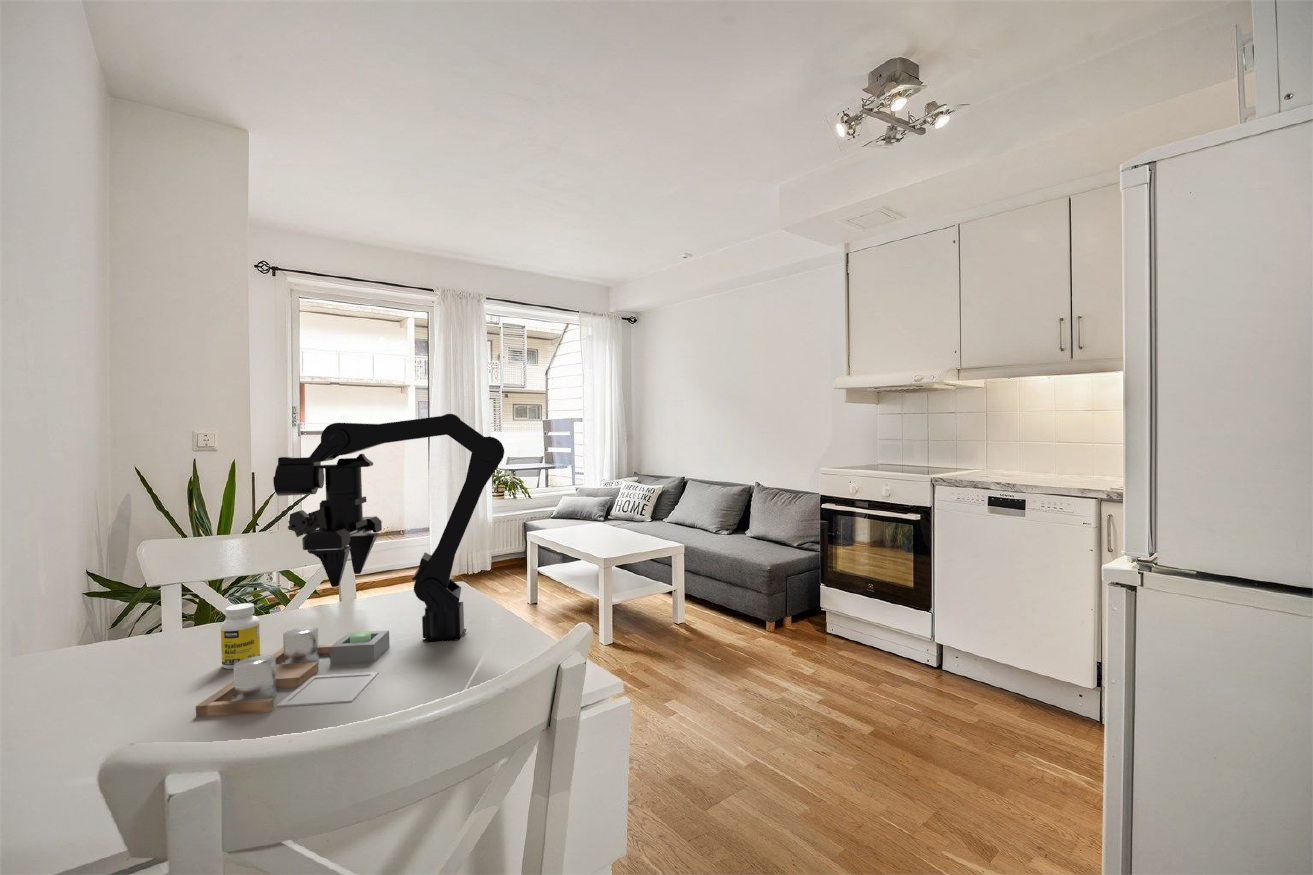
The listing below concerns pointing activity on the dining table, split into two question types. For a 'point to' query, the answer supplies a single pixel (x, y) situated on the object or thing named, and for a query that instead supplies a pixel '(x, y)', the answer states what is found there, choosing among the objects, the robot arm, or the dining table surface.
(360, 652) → the button housing
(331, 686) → the tray
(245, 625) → the supplement bottle
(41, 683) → the dining table surface
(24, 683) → the dining table surface
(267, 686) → the seated steel billet
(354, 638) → the button
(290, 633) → the loose steel billet
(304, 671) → the frame
